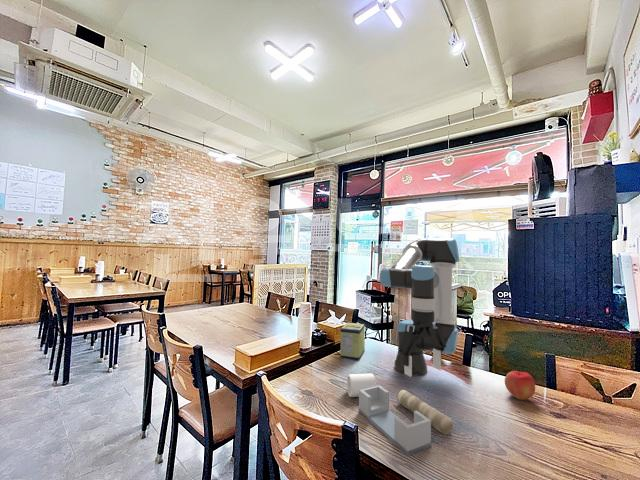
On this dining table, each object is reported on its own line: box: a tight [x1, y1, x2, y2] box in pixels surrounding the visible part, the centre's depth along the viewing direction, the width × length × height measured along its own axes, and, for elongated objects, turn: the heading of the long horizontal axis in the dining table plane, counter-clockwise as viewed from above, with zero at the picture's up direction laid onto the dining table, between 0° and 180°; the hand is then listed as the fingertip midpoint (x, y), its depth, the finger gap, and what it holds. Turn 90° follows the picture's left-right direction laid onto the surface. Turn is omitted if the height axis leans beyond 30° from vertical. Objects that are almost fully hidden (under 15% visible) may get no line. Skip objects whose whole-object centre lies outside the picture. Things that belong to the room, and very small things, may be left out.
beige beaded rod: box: [396, 389, 454, 435], centre depth 97 cm, size 20×5×5 cm, turn 26°
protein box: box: [340, 322, 366, 361], centre depth 156 cm, size 10×16×16 cm
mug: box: [346, 372, 377, 398], centre depth 114 cm, size 12×10×8 cm
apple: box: [504, 370, 536, 401], centre depth 111 cm, size 10×10×10 cm
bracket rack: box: [358, 384, 432, 457], centre depth 91 cm, size 9×24×8 cm, turn 26°
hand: (422, 371), depth 98 cm, fingers open, 13 cm apart
